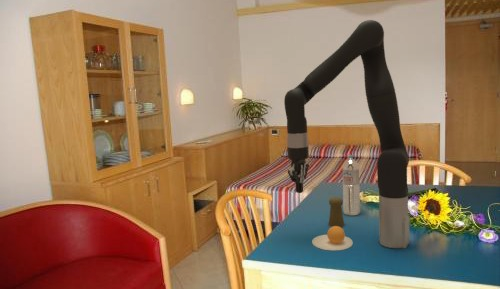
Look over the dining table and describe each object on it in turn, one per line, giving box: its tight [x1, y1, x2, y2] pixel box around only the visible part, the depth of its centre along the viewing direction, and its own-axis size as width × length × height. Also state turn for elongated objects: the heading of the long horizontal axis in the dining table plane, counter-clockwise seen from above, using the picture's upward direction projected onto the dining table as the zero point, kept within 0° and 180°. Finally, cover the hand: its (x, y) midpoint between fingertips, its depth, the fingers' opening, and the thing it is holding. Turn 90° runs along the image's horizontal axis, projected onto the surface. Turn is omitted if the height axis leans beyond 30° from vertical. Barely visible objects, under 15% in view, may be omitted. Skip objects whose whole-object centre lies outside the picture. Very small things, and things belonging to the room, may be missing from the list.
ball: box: [326, 226, 346, 244], centre depth 141 cm, size 6×6×6 cm
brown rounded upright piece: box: [328, 196, 345, 228], centre depth 158 cm, size 6×6×11 cm
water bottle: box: [341, 154, 361, 217], centre depth 168 cm, size 7×7×25 cm
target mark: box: [311, 234, 354, 252], centre depth 142 cm, size 14×14×1 cm
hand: (299, 192), depth 146 cm, fingers closed
